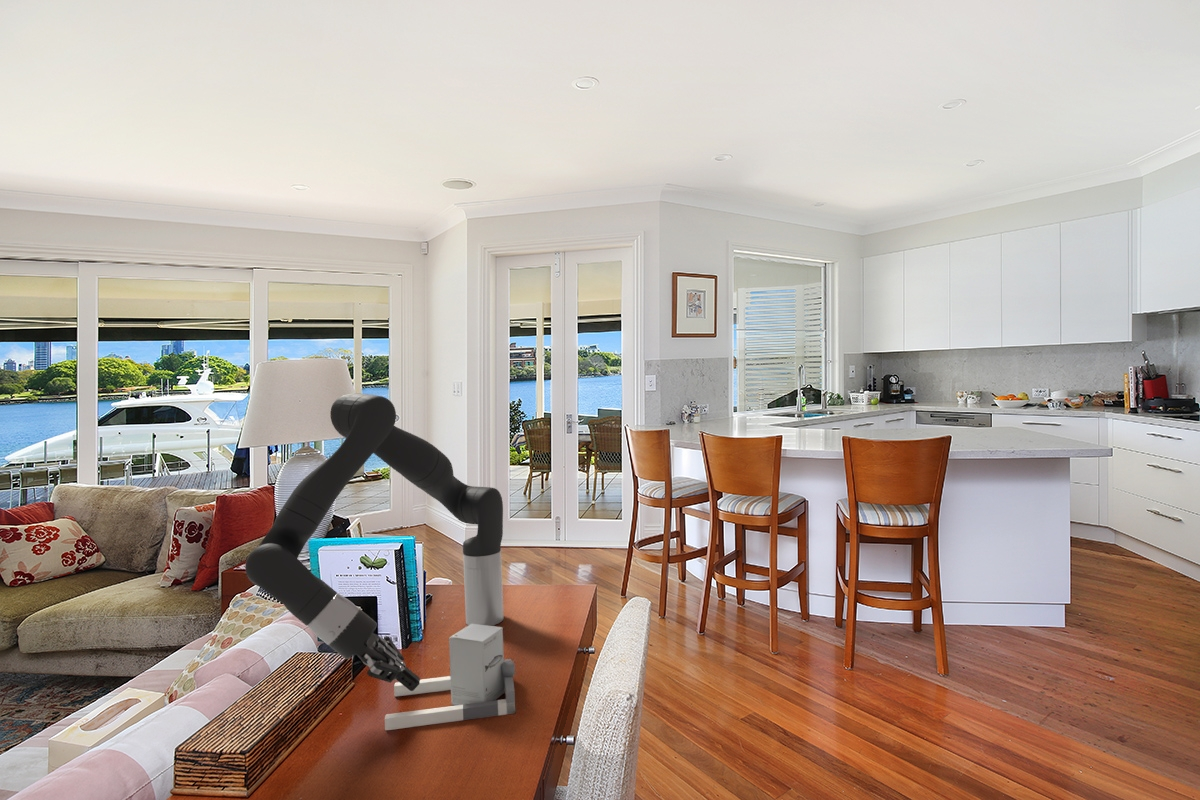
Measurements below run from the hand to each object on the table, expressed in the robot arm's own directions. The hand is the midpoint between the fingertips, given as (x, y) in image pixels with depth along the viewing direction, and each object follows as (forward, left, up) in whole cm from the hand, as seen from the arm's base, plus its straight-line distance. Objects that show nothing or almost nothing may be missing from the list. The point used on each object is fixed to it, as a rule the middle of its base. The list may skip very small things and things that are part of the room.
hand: (416, 685), depth 114 cm
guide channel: (0, +6, -4) cm, 8 cm away
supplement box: (-1, +11, -4) cm, 12 cm away
